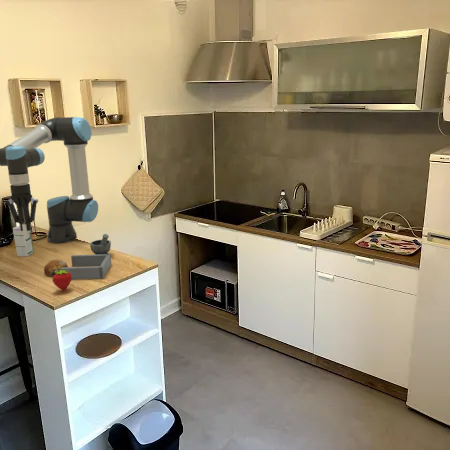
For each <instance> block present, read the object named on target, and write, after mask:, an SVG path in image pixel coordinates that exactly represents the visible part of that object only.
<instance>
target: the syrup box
mask: <svg viewBox="0 0 450 450" xmlns="http://www.w3.org/2000/svg"><path fill="white" fill-rule="evenodd" d="M31 230H32V229H31ZM31 230H30V231H29V234H30V237H29V238H28V239H24V235H23V231H21V228H20V224H18V225H17V226H15V227H12V231H13V239H14V245H15V251H16V255H17V257H29V256H30V255H32V254H35V250H34V243H33V238H32V231H31Z"/></svg>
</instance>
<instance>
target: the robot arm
mask: <svg viewBox="0 0 450 450" xmlns="http://www.w3.org/2000/svg"><path fill="white" fill-rule="evenodd" d="M91 137H92V128H91V125H90V123H89V122H88V120H87V119H86V118H84V117H77V116H71V117H70V116H69V117H65V116H64V117H61V116H60V117H58V116H57V117H53V118H50V119H47V120H44V121H42V122H41V123H39V124H37V125H35V126H34V128H33V130H30V131H29V132H28V133H26V134H25V135H23V136H20V138H17V139H16V140H14V141H13V142H11V143H9V144H7V145H6V146H4V147H0V167H7V170H8V180H9V181H8V182H9V184H10V185H9V187H10V194H11V196H10V198H9V199H8V200H6V201H5V204H6V205H7V206H8V208H9V211H10V213H11V216H12V218H13V221H14V222H15V223H18V225H20V228H21V231H23V235H24V239H28V238H29V237H30V234H29V231H30V230H32V227H31V226H32V225H31V223H33V222H34V221H35V218H36V211H37V204H38V203H39V199H37V198H36V199H35V197H33V195H32V193H31V184H30V177H29V169H28V168H32V167H38V166H40V165H42V164H43V163H44V162H45V158H46V156H45V153H44V151H43V150H42V149H40V148H38V147H39V146H41V145H43V144H48V143H50V142H54V141H55V142H56V141H57V142H58V141H60V142H61V141H62V142H63V146H64V147H66V149H67V155H68V156H67V157H68V166H69V175H70V182H71V183H70V185H71V193H72V194H71V196H69V195H61V196H56V197H52V198H49V199H47V201H46V211H47V217H48V218H47V219H48V225H49V227H48V230H47V236H46V237H47V242H48V243H51V244H52V243H53V244H63V243H64V244H65V243H68V242H69V243H70V242H72V241H75V240H76V239H77V238H78V235H77V232H76V230H75V228H74V225H73V222H76V223H77V222H79V223H80V222H81V223H91V222H93V221H94V220H95V219H96V218H97V216H98V212H99V204H98V201H97V200H95V199H94V197H93V196H94V195H92V194H91V193H90V186H89V185H90V183H89V176H88V165H87V163H88V162H87V154H86V153H87V152H86V147H87V145H88V143H89V142H88V141H90V140H91V139H92V138H91ZM30 202H31V207H30ZM15 205H16V206H15ZM29 207H30V208H29ZM16 209H17V210H16Z"/></svg>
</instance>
